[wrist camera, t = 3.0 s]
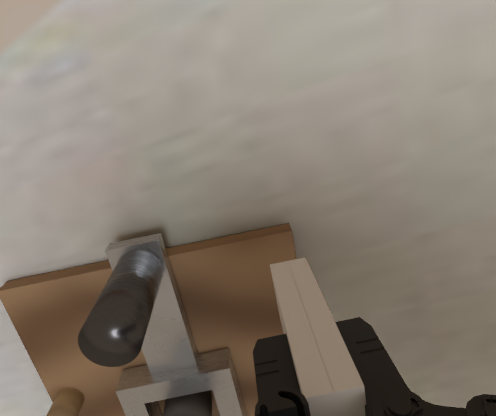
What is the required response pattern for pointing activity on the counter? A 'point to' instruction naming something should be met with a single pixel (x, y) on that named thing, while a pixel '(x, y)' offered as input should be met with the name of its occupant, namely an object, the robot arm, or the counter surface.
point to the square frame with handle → (152, 334)
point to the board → (195, 305)
